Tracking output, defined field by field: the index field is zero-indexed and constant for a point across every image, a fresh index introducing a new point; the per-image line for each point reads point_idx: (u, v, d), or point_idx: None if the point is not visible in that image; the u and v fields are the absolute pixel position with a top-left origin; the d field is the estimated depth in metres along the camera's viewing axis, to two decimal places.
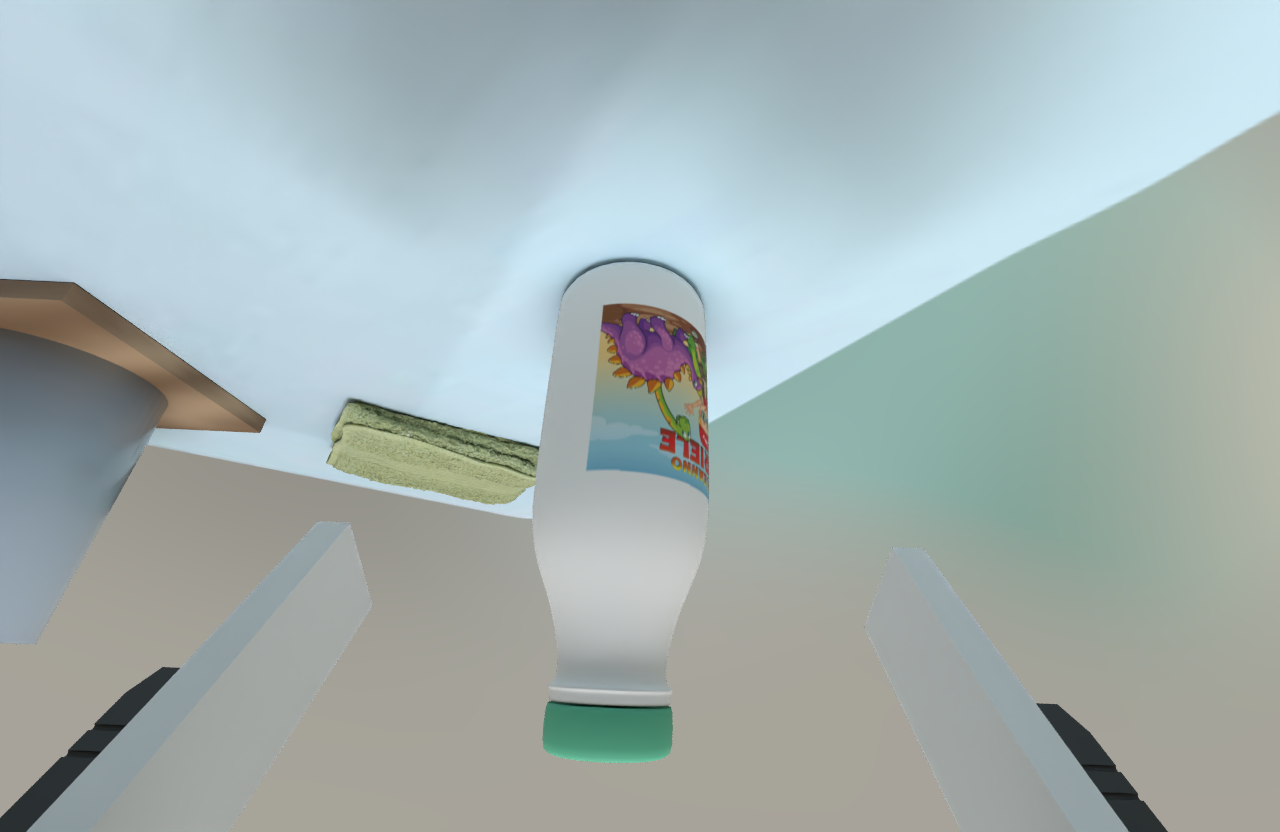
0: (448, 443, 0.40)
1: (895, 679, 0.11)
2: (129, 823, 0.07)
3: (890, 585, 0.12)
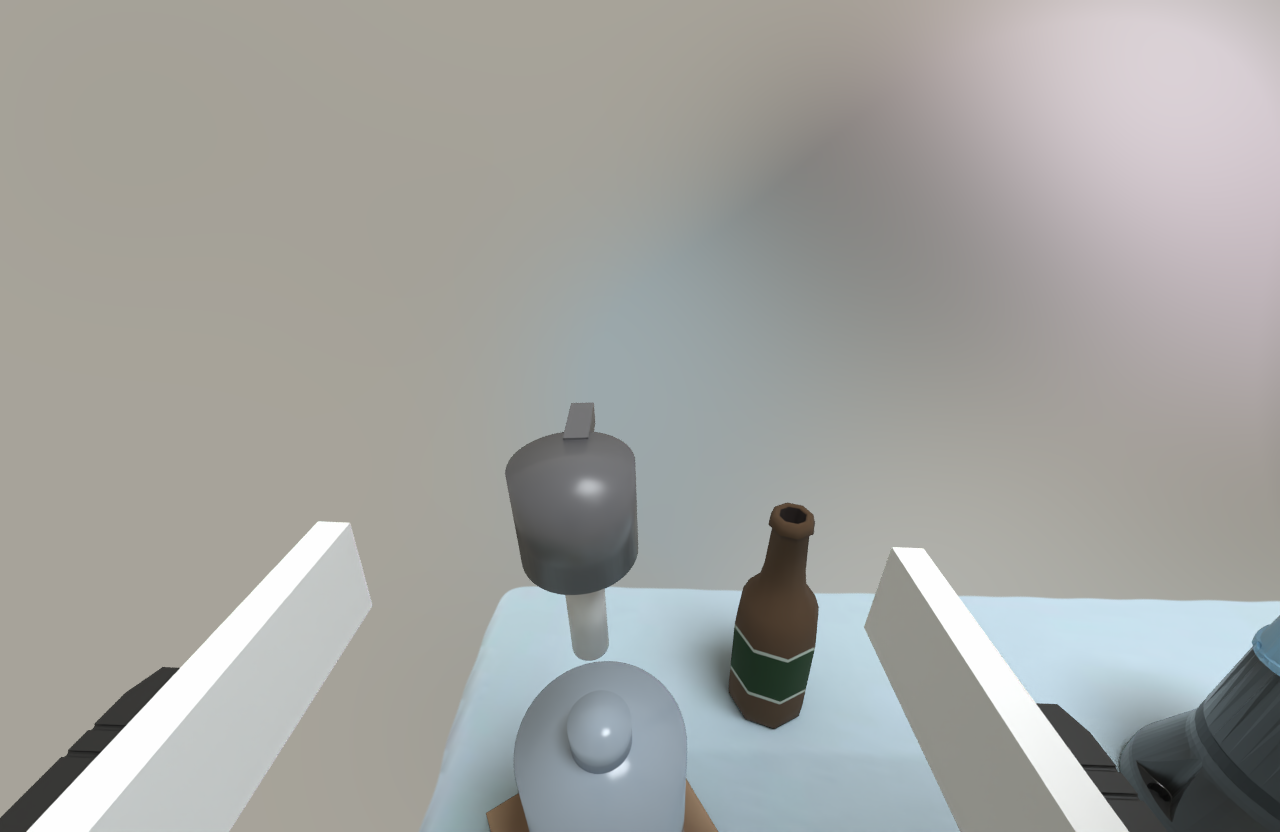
0: None
1: (895, 679, 0.11)
2: (129, 823, 0.07)
3: (890, 585, 0.12)
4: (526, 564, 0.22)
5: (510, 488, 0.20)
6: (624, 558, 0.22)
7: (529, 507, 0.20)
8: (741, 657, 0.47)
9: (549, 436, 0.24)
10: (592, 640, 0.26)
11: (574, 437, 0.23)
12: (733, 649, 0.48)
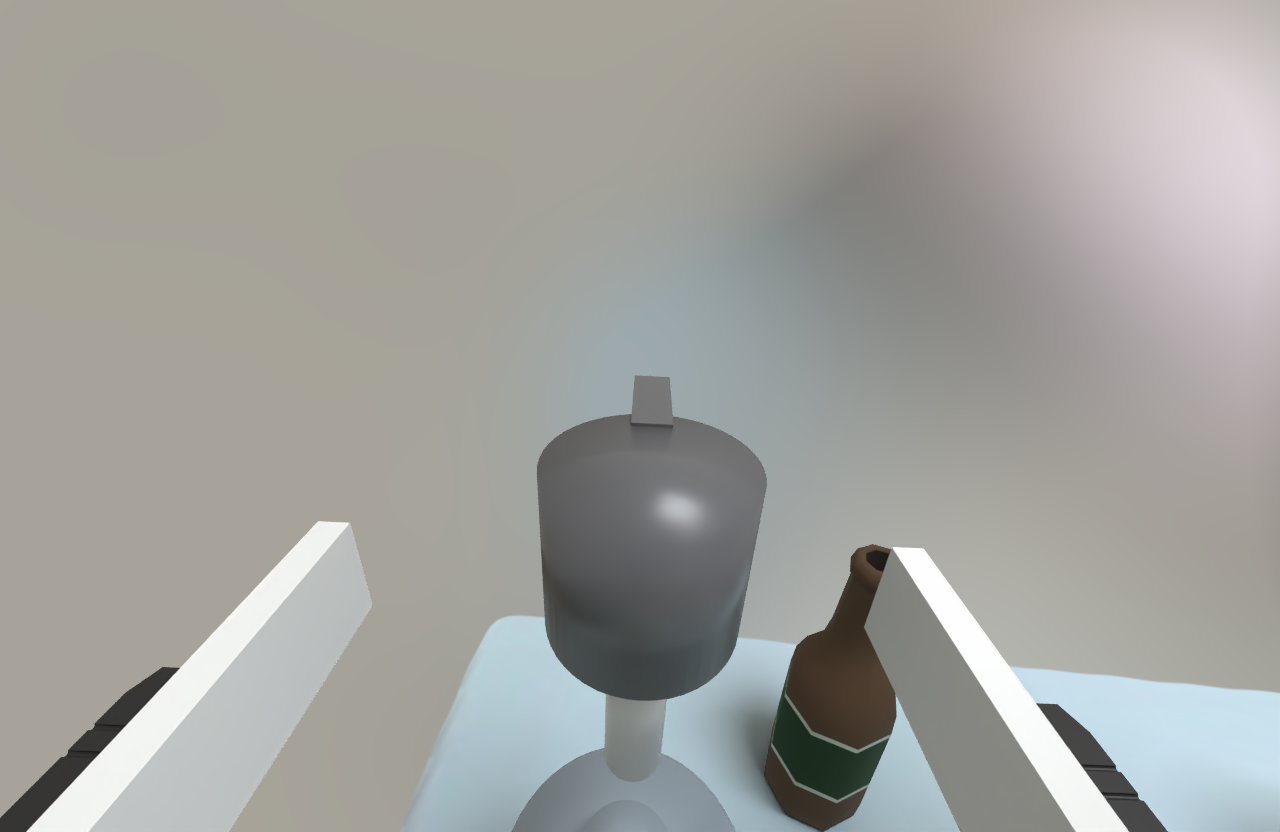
0: None
1: (895, 679, 0.11)
2: (129, 823, 0.07)
3: (890, 585, 0.12)
4: (557, 635, 0.13)
5: (546, 500, 0.11)
6: (729, 639, 0.12)
7: (582, 539, 0.10)
8: (790, 736, 0.37)
9: (607, 418, 0.14)
10: (641, 753, 0.16)
11: (650, 423, 0.14)
12: (778, 724, 0.38)
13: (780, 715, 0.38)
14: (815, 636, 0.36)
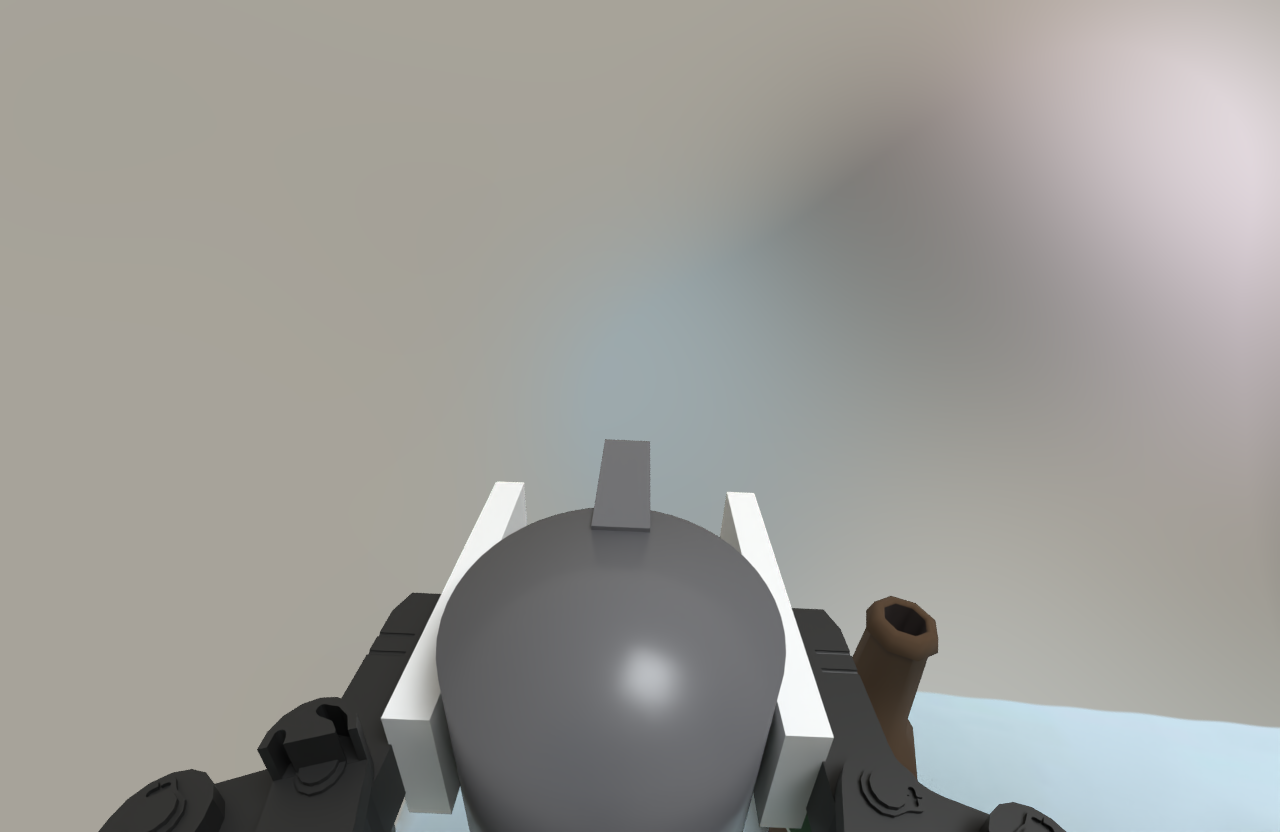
0: None
1: None
2: None
3: (725, 525, 0.13)
4: None
5: (442, 694, 0.07)
6: None
7: (489, 777, 0.06)
8: None
9: (560, 517, 0.10)
10: None
11: (618, 526, 0.10)
12: None
13: None
14: None
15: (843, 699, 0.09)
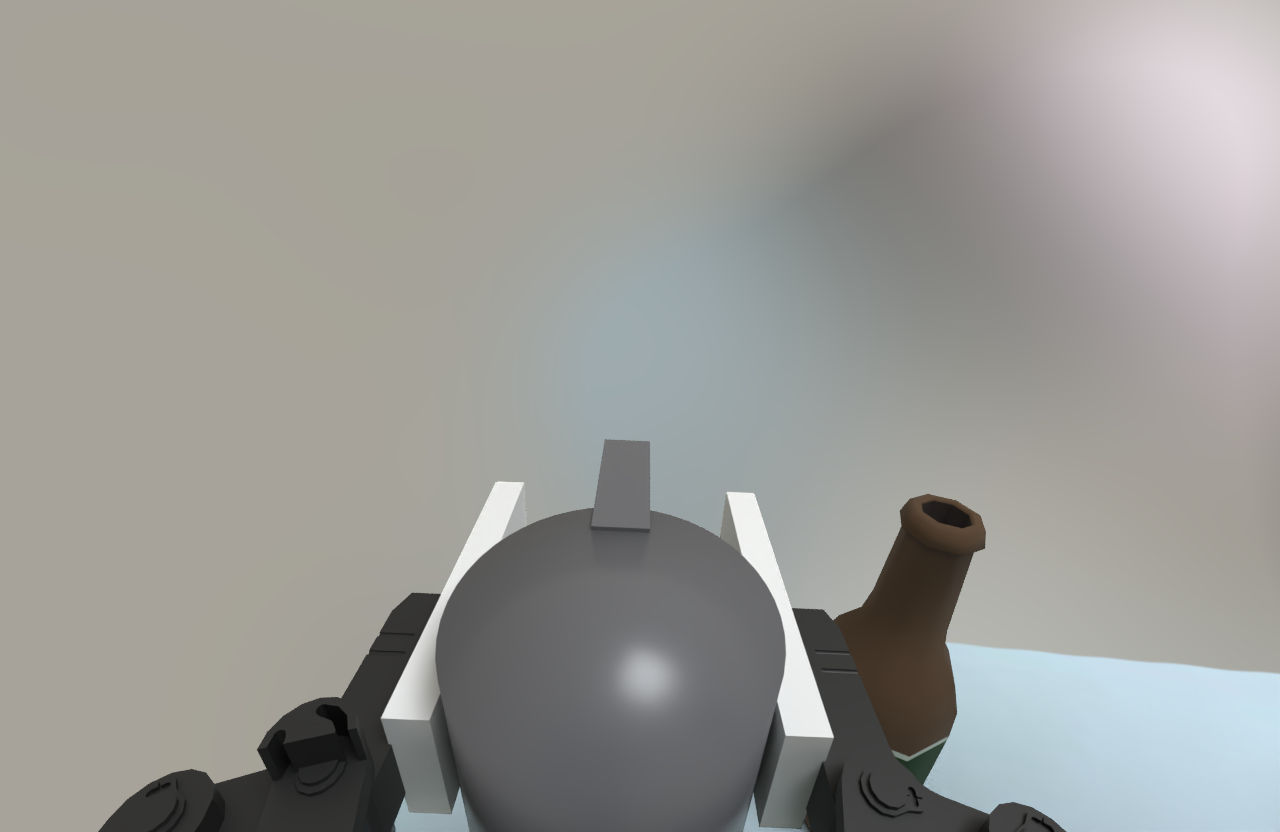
0: None
1: None
2: None
3: (725, 525, 0.13)
4: None
5: (441, 695, 0.07)
6: None
7: (489, 777, 0.06)
8: None
9: (559, 517, 0.10)
10: None
11: (618, 526, 0.10)
12: None
13: None
14: (850, 615, 0.29)
15: (843, 699, 0.09)
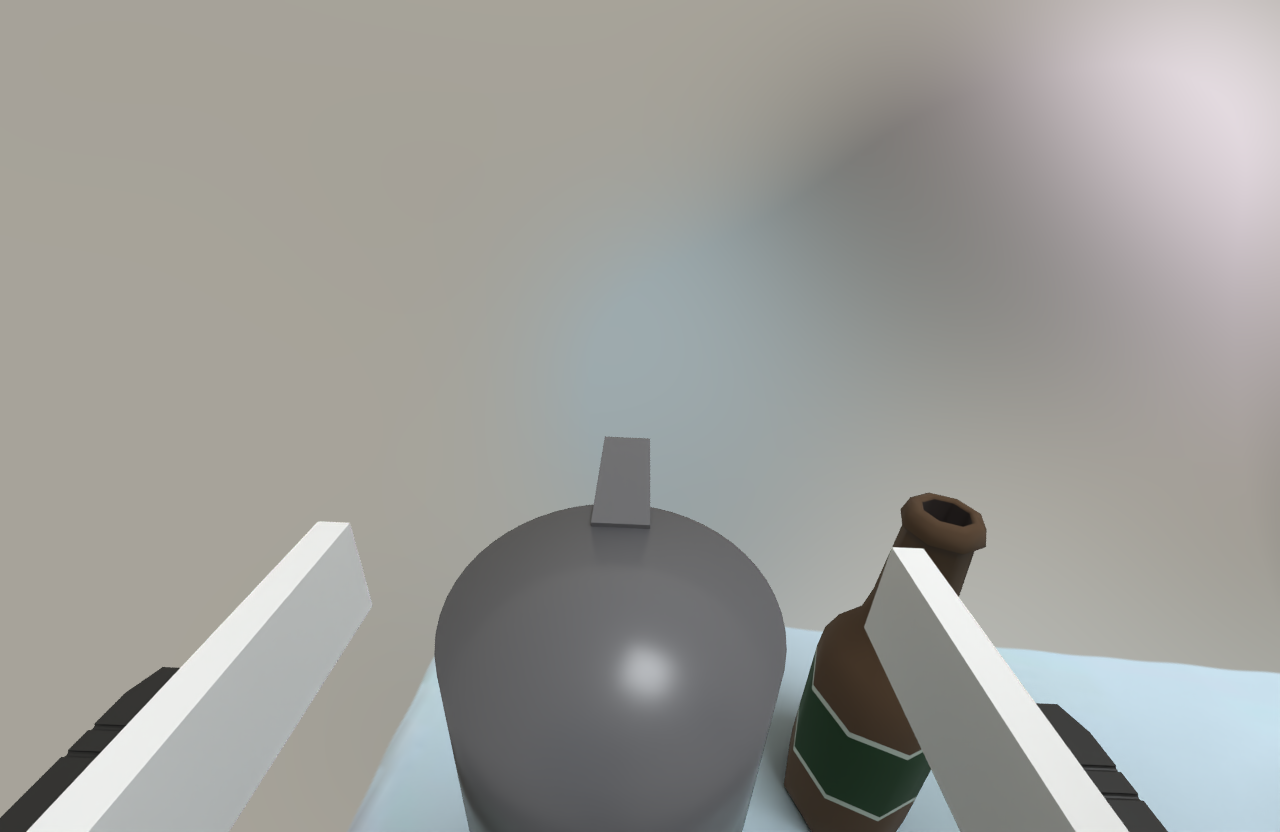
0: None
1: (895, 679, 0.11)
2: (129, 823, 0.07)
3: (890, 585, 0.12)
4: None
5: (441, 690, 0.07)
6: None
7: (489, 772, 0.06)
8: (819, 738, 0.30)
9: (559, 514, 0.10)
10: None
11: (618, 522, 0.10)
12: (803, 723, 0.31)
13: (806, 712, 0.30)
14: (850, 614, 0.29)
15: None
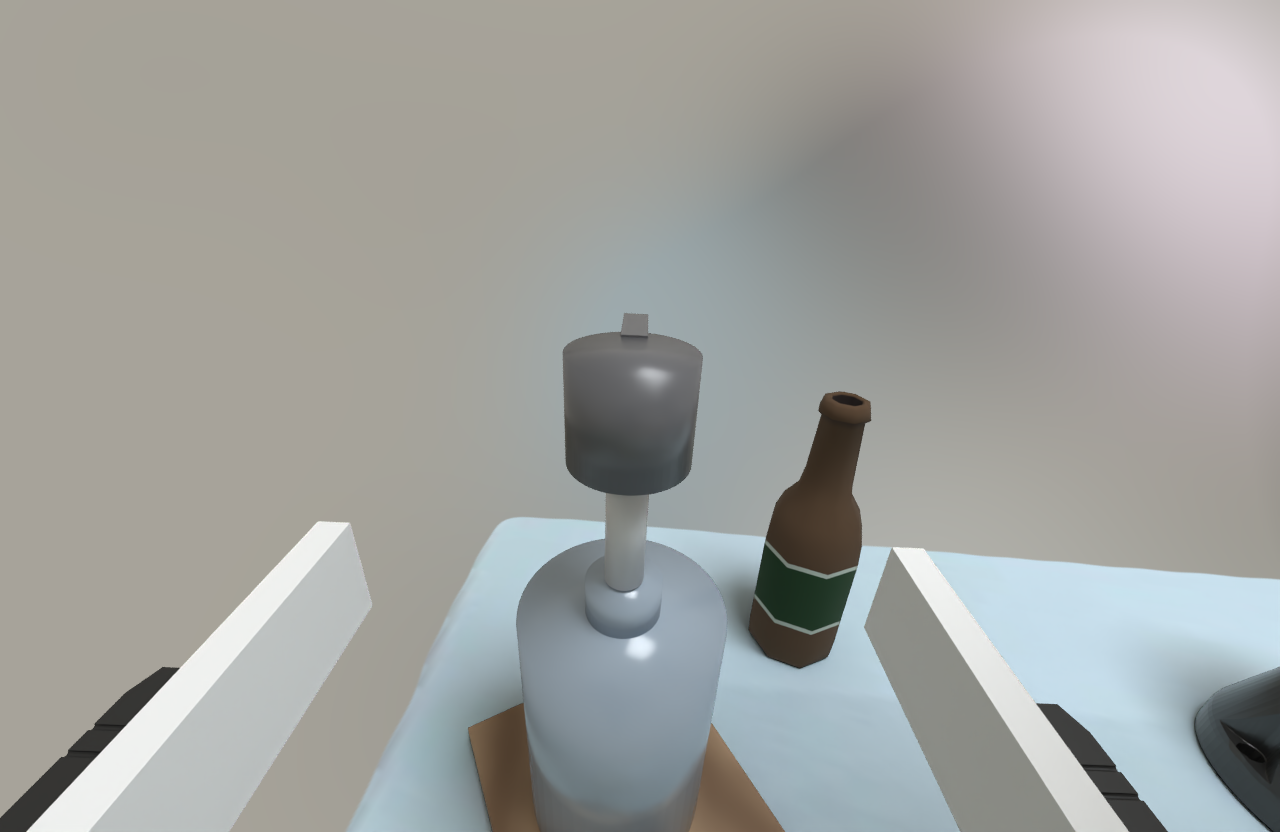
0: None
1: (895, 679, 0.11)
2: (129, 823, 0.07)
3: (890, 585, 0.12)
4: (574, 461, 0.20)
5: (569, 366, 0.19)
6: (681, 462, 0.20)
7: (591, 383, 0.18)
8: (770, 578, 0.41)
9: (605, 333, 0.22)
10: (629, 566, 0.24)
11: (633, 335, 0.22)
12: (760, 572, 0.42)
13: (761, 563, 0.42)
14: (791, 487, 0.41)
15: None
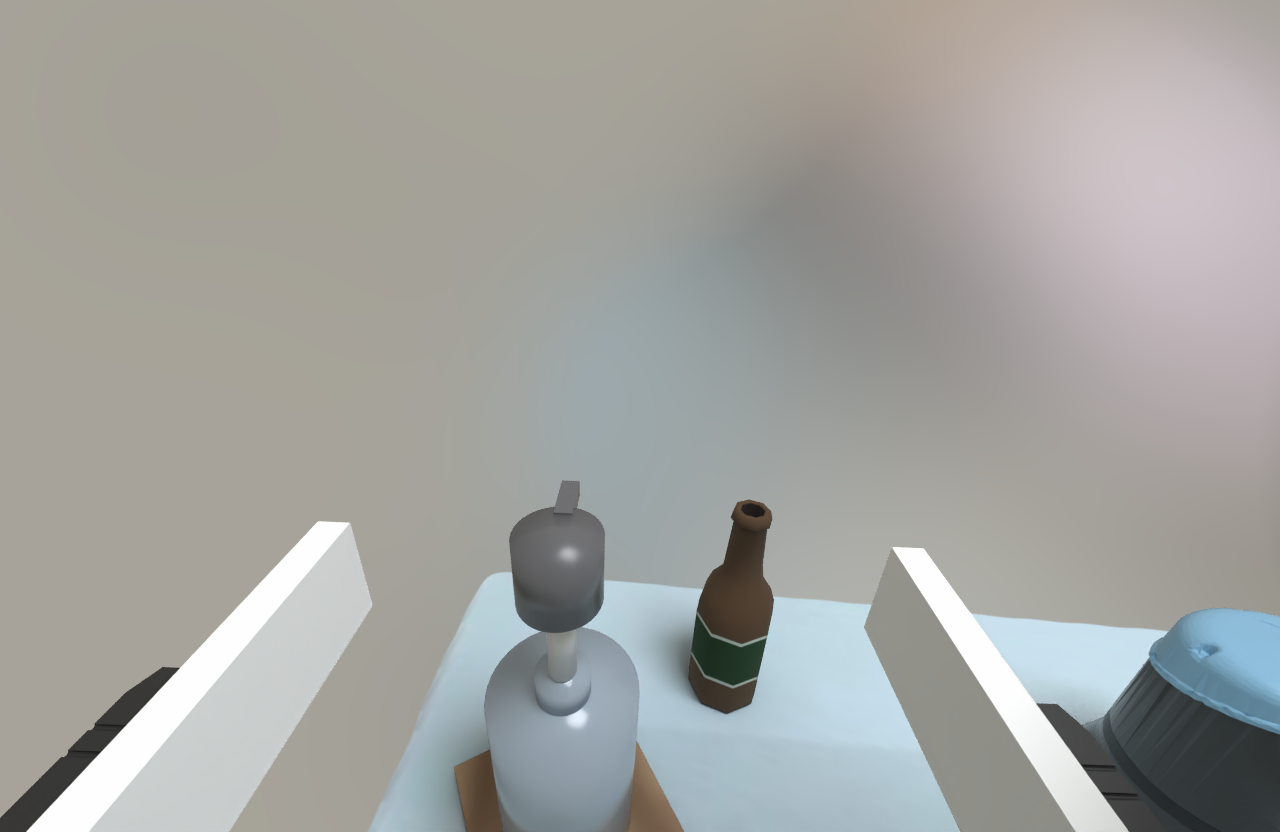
0: None
1: (895, 679, 0.11)
2: (129, 823, 0.07)
3: (890, 585, 0.12)
4: (518, 607, 0.30)
5: (512, 552, 0.28)
6: (591, 608, 0.30)
7: (524, 568, 0.28)
8: (700, 642, 0.51)
9: (543, 509, 0.32)
10: (564, 666, 0.33)
11: (562, 512, 0.31)
12: (694, 635, 0.52)
13: (695, 628, 0.52)
14: (717, 569, 0.50)
15: None
